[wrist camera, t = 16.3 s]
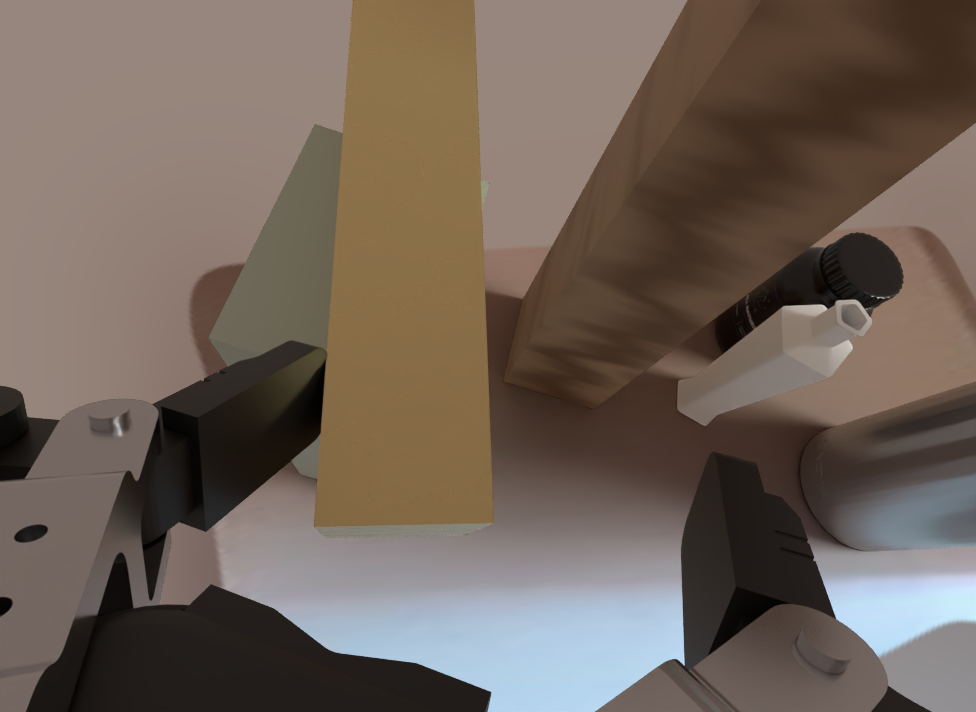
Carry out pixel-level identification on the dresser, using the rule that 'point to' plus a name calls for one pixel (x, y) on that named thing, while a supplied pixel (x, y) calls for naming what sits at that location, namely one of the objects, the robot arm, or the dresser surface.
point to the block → (290, 269)
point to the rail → (408, 285)
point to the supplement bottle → (818, 284)
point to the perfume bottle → (775, 358)
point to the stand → (737, 172)
